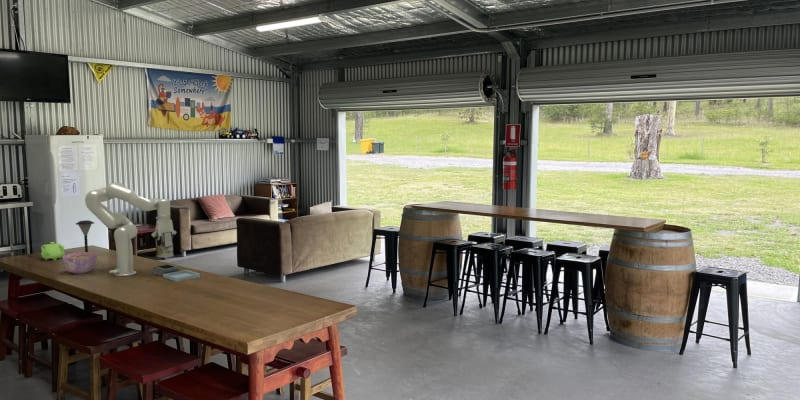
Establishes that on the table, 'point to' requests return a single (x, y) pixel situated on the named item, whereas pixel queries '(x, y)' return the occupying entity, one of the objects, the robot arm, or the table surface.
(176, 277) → the pale blue square tray
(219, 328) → the table surface
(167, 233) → the coffee box
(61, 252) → the green lumpy rounded block
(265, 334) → the table surface
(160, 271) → the metal sleeve
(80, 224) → the solar garden light
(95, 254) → the bowl of food
